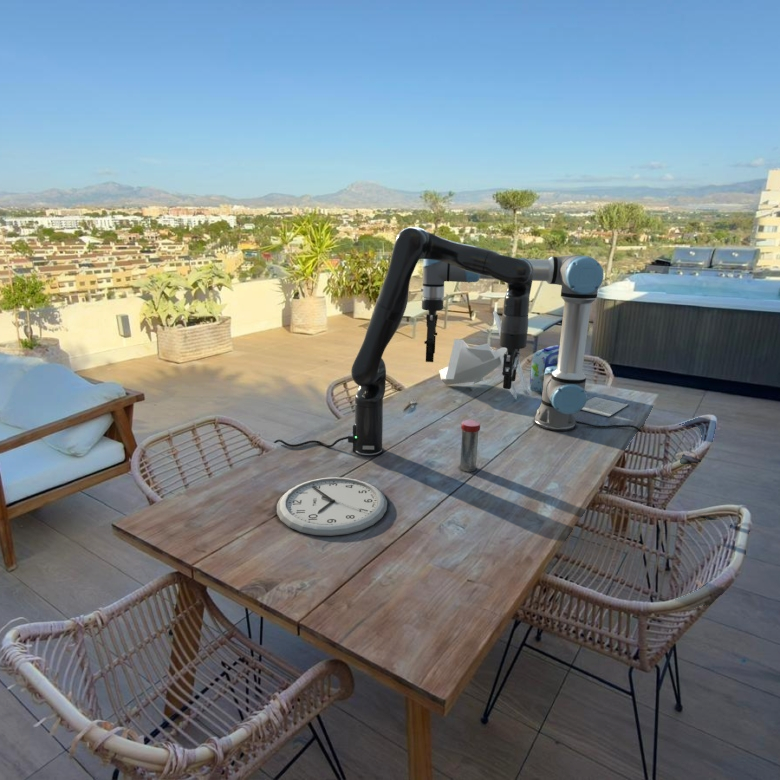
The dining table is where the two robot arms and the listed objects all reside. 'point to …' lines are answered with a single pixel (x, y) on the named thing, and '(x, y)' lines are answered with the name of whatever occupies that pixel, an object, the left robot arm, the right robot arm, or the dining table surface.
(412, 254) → the left robot arm
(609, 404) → the invitation card
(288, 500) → the wall clock
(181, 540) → the dining table surface
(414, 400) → the fork
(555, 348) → the lunch box
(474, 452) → the bottle
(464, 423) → the lid
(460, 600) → the dining table surface
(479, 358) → the white plastic object
